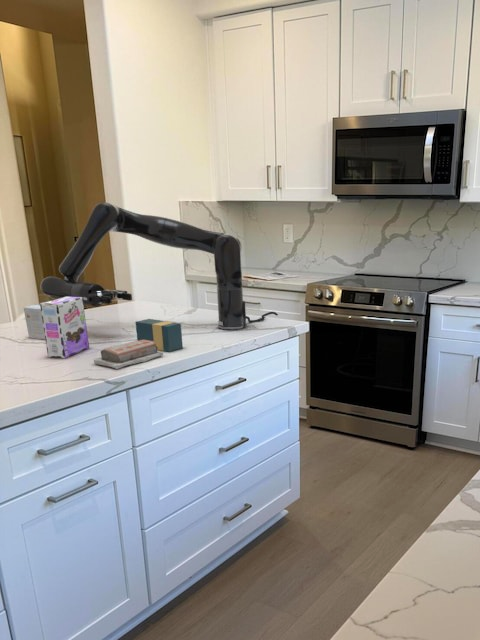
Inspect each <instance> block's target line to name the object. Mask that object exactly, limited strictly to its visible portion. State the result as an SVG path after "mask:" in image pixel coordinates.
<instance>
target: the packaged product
mask: <svg viewBox="0 0 480 640" xmlns="http://www.w3.org/2000/svg"><path fill="white" fill-rule="evenodd" d="M163 355H164V352H161V351H159V350H158V348H157V346H156V343H155V342H154V341H149V340H139V341H137V340H134V341H130V342H126V343H122V344H118V345H114V346H109V347H105V348H102V349H101V350H100V356H101V357H97V358H94V359H93V363H94V365H99V366H104V367H108V368H113V369H116V370H119V369H122V368H124V367H127V366H131V365H135V364H138V363H144V362H148V361H150V360H153V359H157V358H160V357H162V356H163Z"/></svg>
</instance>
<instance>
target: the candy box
mask: <svg viewBox="0 0 480 640" xmlns="http://www.w3.org/2000/svg"><path fill="white" fill-rule="evenodd" d="M39 305H40V307H41V314H42V320H43V327H44V334H45V346H46V352H47V357H48V358H56V359H57V358H58V359H66V358H68V357H71V356H74V355H76V354H79V353H81V352H83V351H86V350H88V349H90V344H89V336H88V328H87V321H86V315H85V307H84V306H85V305H83V298H82V297H64V298H60V299H56V300H55V299H53V300H48V301H45V302H44V301H43V302H40V303H39Z"/></svg>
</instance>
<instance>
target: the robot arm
mask: <svg viewBox="0 0 480 640" xmlns="http://www.w3.org/2000/svg"><path fill="white" fill-rule="evenodd" d="M109 232H115V233H122V234H123V233H124V234H129V235H134V236H138V237H140V238H143V239H145V240H147V241H150V242H153V243H156V244H159V245H163V246H167V247H170V248H175V249H181V250H193V251H200V252H201V251H202V252H204V253H208V254H211V255H213V258H214V273H215V279H216V296H217V315H218V321H217V323H218V328H219V329H221V330H226V331H227V330H228V331H231V330H232V331H234V330H240V329H244V328H247V322H248V323H258V322H261V321H264V320H265V317H266V316H270V315H275V316H279V313H277V312H276V311H269V312H266V313H264V314H262V315H261V317H260V318H257V319H251V317H249V316H247V314H246V301H245V300H244V292H243V274H242V258H241V257H242V256H241V252H242V243H241V241H240V239H239V238H238V237H237V236H236V235H234V234H232V233H225V232H217V231H211V230H206V229H203V228H200V227H197V226H195V225H192V224H189V223H186V222H183V221H180V220H176V219H172V218H168V217H164V216H160V215H159V216H158V215H150V214H141V213H136V212H133V211H130V210H127V209H124V208H122V207H119V206H117V205H115V204H112V203H110V202H106V201H104V202H99V203H97V204H96V205H94V207H93V209H92V211H91V213H90V215H89V217H88V220H87V222H86V224H85V226H84V228H83V229H82V232H81V234H80V236H79V237H78V239H77V240H76V242H75V243H74V244H73V246H72V247H71V249H70V250H69V252H68V253H67V255H66V256H65V258H64V259H63V260H62V262H61V263H60V264H59V267H58V271H59V273H60V274H61V275H62V276H64V279H63V278H60V277H56V276H46V277H45V278H43V279H42V281H41V282H40V286H39V287H40V291H41V292H42V294H43V295H44V296H46V297H49V298H50V299H53V300H56V299H60V298H64V297H82V298H83V305H84V306H91V307H95V308H96V307H101V306H102V305H103V304H107V305H111V304H112V303H113V302H118V301H121V300H122V301H133V295H132V293H130V292H129V293H128V291H127V290H119V289H113V290H112V289H111V290H110V289H105V288H104V287H103V286H102V285H101V284H99V283H93V282H87V281H86V282H85V281H80V282H79V278H80V276H81V275H82V274H83V272H84V271H85V269H86V268H87V266H88V265H89V263H90V261H91V259H92V257H93V254H94V253H95V251H96V248H97V247H98V245H99V243H100V242H101V241H102V239H103V238H104V237H105V236H106V235H107V234H108V233H109Z"/></svg>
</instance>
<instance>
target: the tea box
mask: <svg viewBox="0 0 480 640" xmlns="http://www.w3.org/2000/svg"><path fill="white" fill-rule="evenodd" d="M134 323H135V331H136V341H139V340H149V341H154V342H155V343H156V346H157V348H158V350H157V351H163V352H174V351H178V350H180V349H183V347H184V345H183V335H182V334H183V333H182V324H181V322H176V321H175V322H174V321H169V320H168V321H167V320H160V319H153V318H147V319H142V320H137V321H134Z"/></svg>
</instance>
